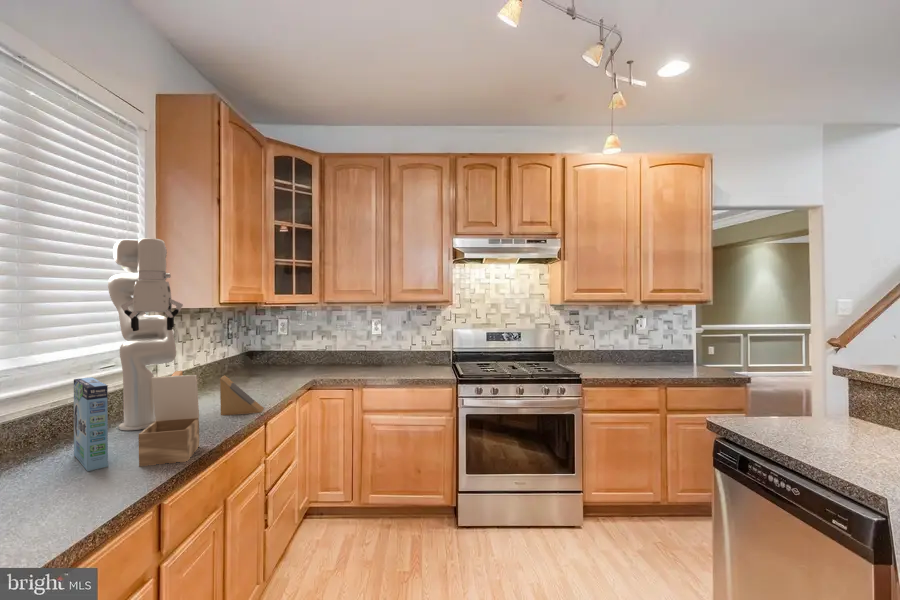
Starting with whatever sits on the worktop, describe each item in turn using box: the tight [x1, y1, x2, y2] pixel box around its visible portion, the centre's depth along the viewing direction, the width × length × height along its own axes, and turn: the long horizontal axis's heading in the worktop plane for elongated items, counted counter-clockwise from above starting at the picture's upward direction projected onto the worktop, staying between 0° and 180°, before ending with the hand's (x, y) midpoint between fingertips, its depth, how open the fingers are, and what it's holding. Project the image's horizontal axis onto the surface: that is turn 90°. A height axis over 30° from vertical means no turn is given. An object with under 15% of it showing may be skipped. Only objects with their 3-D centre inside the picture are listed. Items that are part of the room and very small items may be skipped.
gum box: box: [73, 376, 109, 473], centre depth 134 cm, size 20×5×23 cm, turn 47°
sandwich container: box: [219, 374, 265, 416], centre depth 191 cm, size 9×15×15 cm, turn 105°
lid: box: [152, 370, 200, 421], centre depth 146 cm, size 14×12×5 cm
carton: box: [137, 417, 200, 467], centre depth 138 cm, size 14×12×9 cm
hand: (152, 330), depth 151 cm, fingers open, 9 cm apart
